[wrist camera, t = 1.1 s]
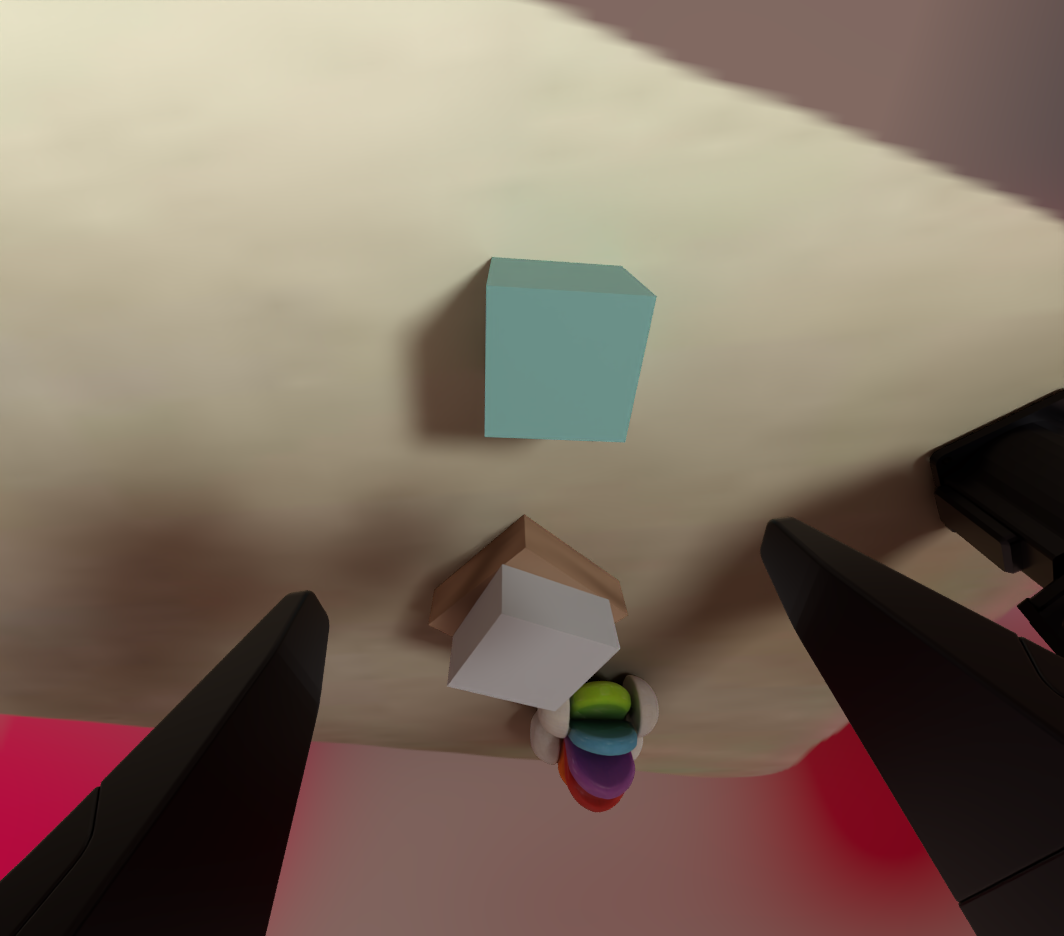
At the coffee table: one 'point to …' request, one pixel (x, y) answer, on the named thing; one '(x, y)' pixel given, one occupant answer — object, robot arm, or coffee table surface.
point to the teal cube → (563, 349)
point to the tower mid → (531, 640)
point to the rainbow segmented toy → (597, 738)
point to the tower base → (529, 553)
